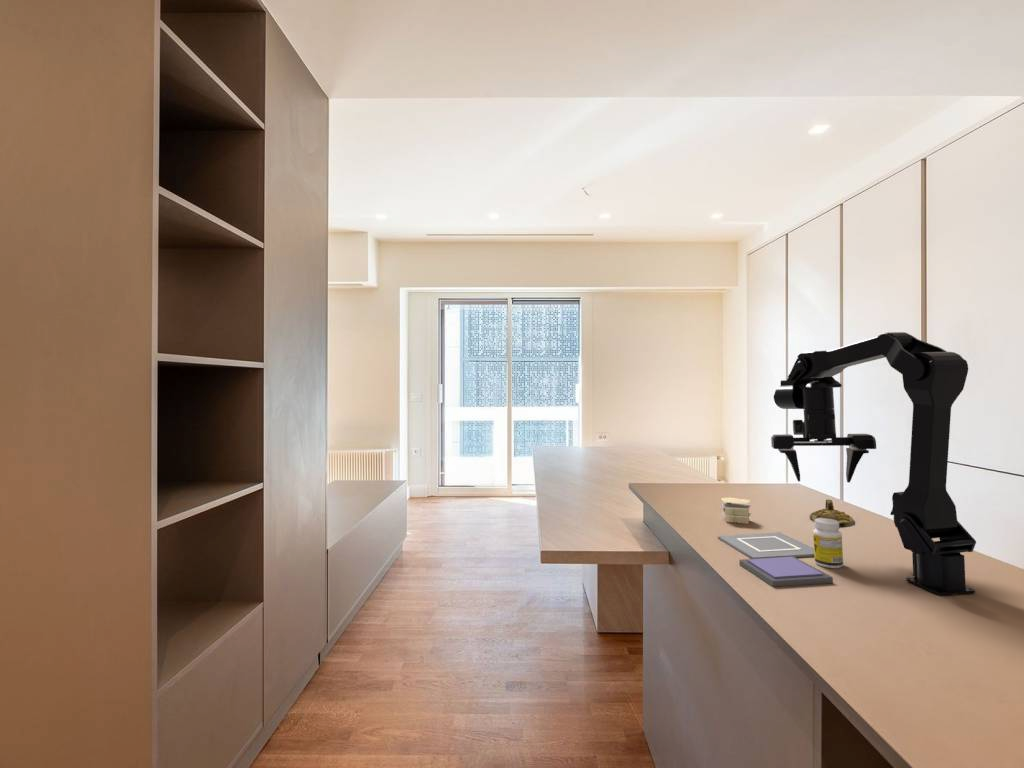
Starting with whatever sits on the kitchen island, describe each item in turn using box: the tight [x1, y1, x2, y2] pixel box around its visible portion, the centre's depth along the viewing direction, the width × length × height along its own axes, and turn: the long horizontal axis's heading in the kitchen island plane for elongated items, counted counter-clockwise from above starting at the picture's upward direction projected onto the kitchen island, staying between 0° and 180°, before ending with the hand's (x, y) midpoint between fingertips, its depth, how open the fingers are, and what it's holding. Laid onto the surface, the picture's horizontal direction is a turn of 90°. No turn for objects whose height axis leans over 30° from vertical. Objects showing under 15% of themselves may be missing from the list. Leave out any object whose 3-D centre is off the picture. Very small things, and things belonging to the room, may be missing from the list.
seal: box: [809, 499, 854, 527], centre depth 126 cm, size 9×5×15 cm
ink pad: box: [738, 556, 834, 588], centre depth 92 cm, size 11×11×1 cm
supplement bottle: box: [812, 518, 844, 569], centre depth 96 cm, size 5×5×8 cm
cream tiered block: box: [721, 497, 752, 525], centre depth 129 cm, size 10×9×6 cm
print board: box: [717, 531, 814, 559], centre depth 108 cm, size 15×15×1 cm
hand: (823, 481), depth 107 cm, fingers open, 9 cm apart
